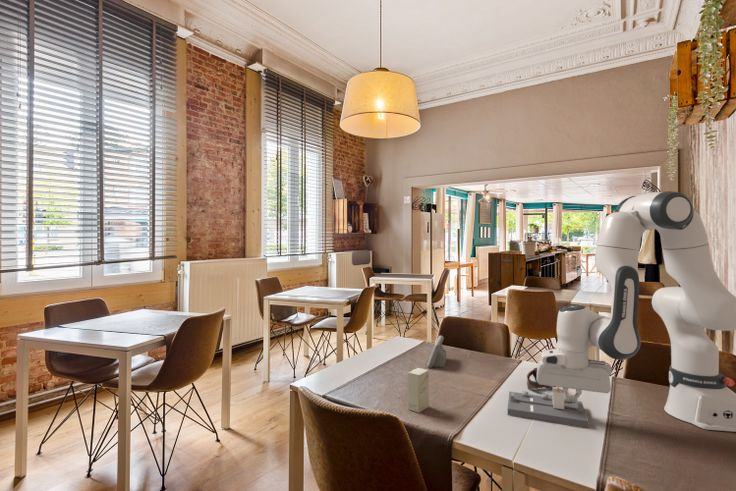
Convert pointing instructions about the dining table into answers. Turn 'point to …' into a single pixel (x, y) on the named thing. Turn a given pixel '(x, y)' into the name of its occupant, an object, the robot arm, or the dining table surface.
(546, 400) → the console
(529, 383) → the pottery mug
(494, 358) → the dining table surface
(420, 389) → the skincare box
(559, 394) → the fader tab
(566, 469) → the dining table surface
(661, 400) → the dining table surface
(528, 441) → the dining table surface
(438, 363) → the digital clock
